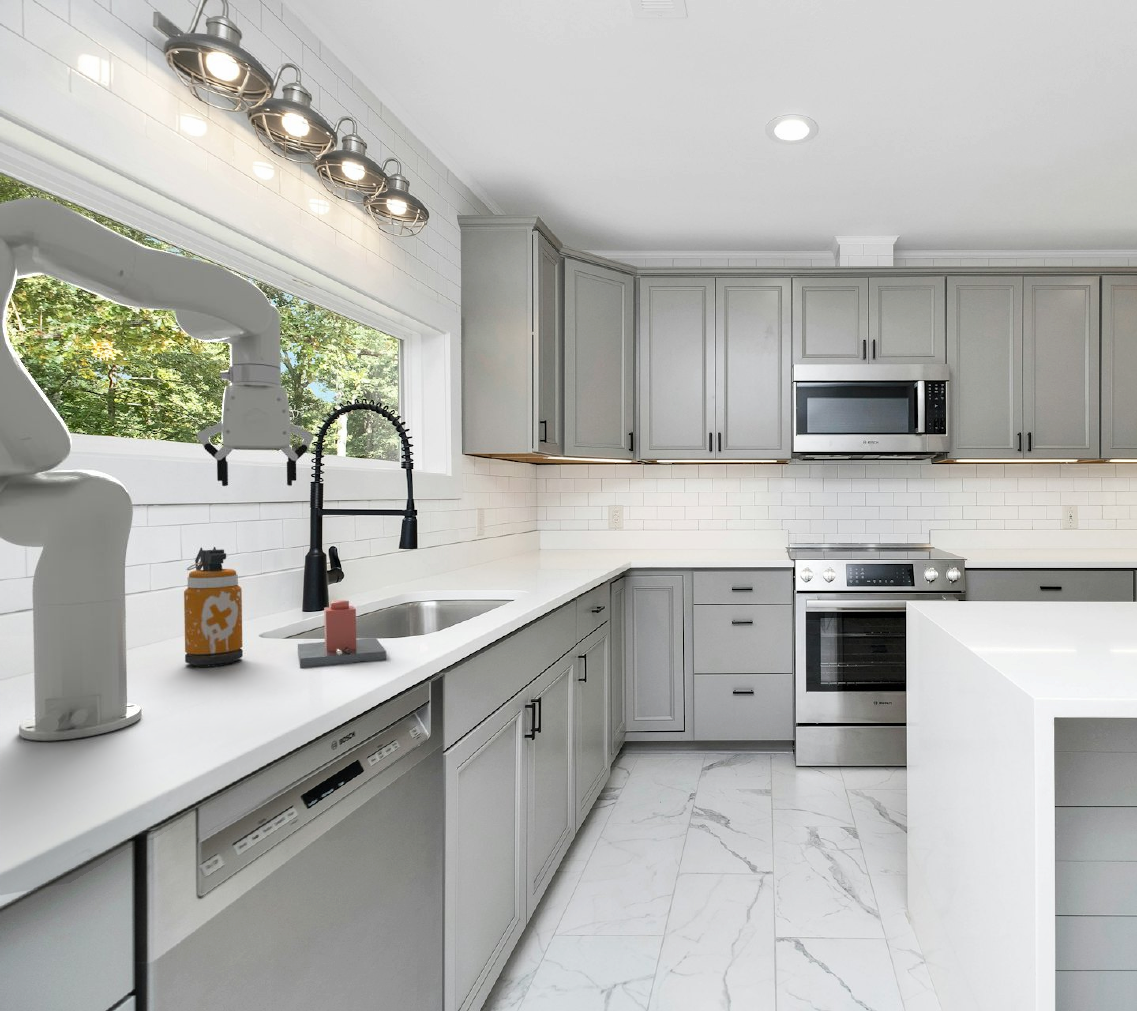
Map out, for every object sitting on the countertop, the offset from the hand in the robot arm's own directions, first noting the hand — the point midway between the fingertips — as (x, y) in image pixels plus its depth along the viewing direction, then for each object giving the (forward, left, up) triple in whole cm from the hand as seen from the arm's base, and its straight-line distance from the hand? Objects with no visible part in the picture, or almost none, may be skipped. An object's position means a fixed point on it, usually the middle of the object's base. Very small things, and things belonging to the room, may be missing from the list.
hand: (257, 485), depth 118 cm
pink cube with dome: (+8, -13, -29) cm, 33 cm away
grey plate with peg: (+8, -13, -30) cm, 34 cm away
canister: (+13, +8, -31) cm, 34 cm away
